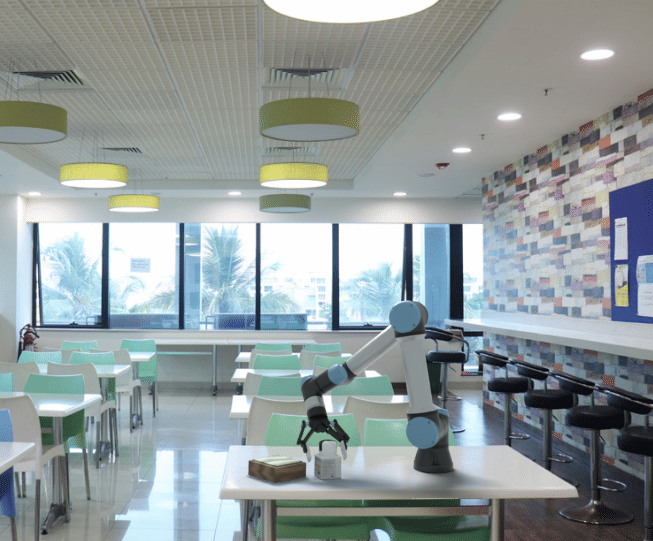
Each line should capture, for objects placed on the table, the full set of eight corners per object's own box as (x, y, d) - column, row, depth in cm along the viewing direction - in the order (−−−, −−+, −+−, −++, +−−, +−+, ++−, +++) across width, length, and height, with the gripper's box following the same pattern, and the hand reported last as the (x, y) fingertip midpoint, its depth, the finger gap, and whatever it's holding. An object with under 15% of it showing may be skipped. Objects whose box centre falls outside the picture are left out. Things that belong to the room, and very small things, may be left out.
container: (313, 474, 251) (314, 438, 251) (333, 473, 253) (334, 437, 254) (321, 479, 243) (321, 442, 244) (341, 478, 246) (341, 441, 247)
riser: (306, 476, 248) (306, 461, 248) (276, 482, 238) (276, 466, 239) (278, 468, 259) (278, 453, 260) (248, 474, 250) (248, 459, 250)
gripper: (344, 415, 269) (357, 462, 254) (282, 418, 261) (292, 466, 246) (349, 404, 264) (362, 451, 249) (286, 405, 257) (296, 454, 242)
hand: (327, 459), depth 248 cm, fingers open, 13 cm apart
